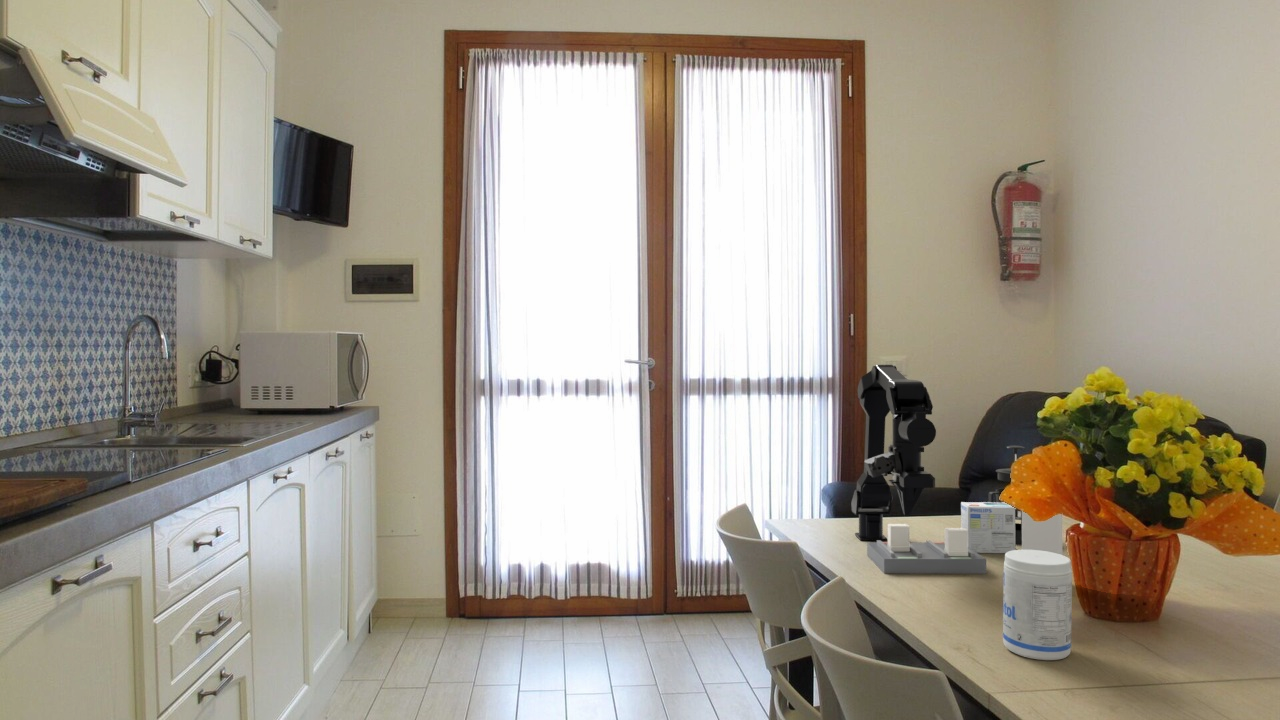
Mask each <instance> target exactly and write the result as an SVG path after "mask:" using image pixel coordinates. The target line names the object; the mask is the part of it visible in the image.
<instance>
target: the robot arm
mask: <svg viewBox="0 0 1280 720" xmlns="http://www.w3.org/2000/svg"><path fill="white" fill-rule="evenodd" d="M857 397H858V399H859V404H860V406H861V408H862V410H863V411H864V413H865V438H864V461H863V463H864V464H863V468H864V469H863V472H862V474H861V475H860V476H859V478H858V479H857V481H856V489H854V492H853V495H852V499H851V502H850V503H851V504H850V505H851V512H852V513H853V514H854V515H855V516H858V532H855V533H854V535H855V536H856V538H858V539H859V540H860V541H877V540H881V541H888V537H887V536H885V535H884V530H883V529H884V523H883V521H884V519H883V518H884V516H883V515H887V516H890V515H891V514H892V513H891V512H892V505H893V504H892V502H893V498H894V496H893V495H892V492H891V487H890V485H889V483H890V484H891V485H892V486H893V487H895V488H896V490H897V494H898V497H899V501H900V506H901V509H902V513H903V515H904V516H905V517H910V516H911V515H912V513H913V510H914V508H915V507H916V504H917V503H918V500H919V498H920V496H921V494H922V492H923V490H924V489H934V488H936V477H935V476H934V475H933V474H932V473H930V472H928V471H926V470H925V466H922V453H925V447H926V446H929V445H930V444H932V443H933V442H934V441H935V439H936V436H937V429H936V427H935V424H934V423H933V422H932V421H931V420H930V419H928V418H927V416H929V415H930V416H932V414H933V407H934V406H933V403H932V399H931V397H930V394H929V392H928V389H927V387H926V386H925V385H924V383H923V381H921V380H918V379H908V378H907V377H905V376H904V375H903V374H902V373H901V372H900V371H899V370H898V369H897V366H896V365H894V364H876V365H873V366H872V368H871V370H870V371H868V372H867V373H865V374H864V375H862V376H861V377H860V379H859V382H858V385H857ZM889 413H891V415H892V444H889V446H888V451H887V452H885V442H886V441H885V440H886V439H885V438H886V436H885V435H886V417H888V415H889ZM888 475H891V476H892V478H891V479H888V482H889V483H888V482H887V480H886V478H885V477H888Z"/></svg>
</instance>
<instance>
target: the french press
mask: <svg viewBox="0 0 1280 720" xmlns="http://www.w3.org/2000/svg"><path fill="white" fill-rule="evenodd" d="M1005 447H1006V448H1007V449H1010V450H1013V454H1014V462H1015V461H1017V455H1019V450H1024V449H1026V447H1025V446H1021V445H1008V446H1005ZM995 472H996V473H997V480H998V481H1002V482H1007V483H1008V482H1009V483H1012V482H1011V478H1010V473H1011V467H1009V468H998V469H996V470H995ZM1005 488H1006V487H1005ZM1005 488H1004V487H1003V488H997V489H995V491H989V492H988V502H994V495H995V496H996V497H995V498H996V500H995V501H996V502H998V503H1001V499H1000V500H999V496H1000V494H1001V492H1002V491H1003V490H1004V489H1005ZM1016 520H1019V521H1020V523H1018V522H1015V545H1021V546H1022V511H1021V510H1019V509H1016V508H1015V521H1016Z"/></svg>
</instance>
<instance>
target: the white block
mask: <svg viewBox="0 0 1280 720" xmlns="http://www.w3.org/2000/svg"><path fill="white" fill-rule="evenodd" d="M887 542H888V544H887V547H888V548H889V549H891V550H892V551H893V552H910V547H909V542H910V525H908V524H907V523H887Z"/></svg>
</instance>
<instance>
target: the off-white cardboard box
mask: <svg viewBox="0 0 1280 720" xmlns="http://www.w3.org/2000/svg"><path fill="white" fill-rule="evenodd" d="M1021 550H1040V551H1048V552H1053V553H1057V554H1061V555H1063V514H1062V515H1060V514H1059V515H1055V516H1053V517H1052V518H1050V519H1048V520H1047V521H1043V522H1036V521H1033V520H1032V518H1031V517H1030V516H1029V515H1028V514H1027V513H1025V512H1023V511H1022V545H1021Z"/></svg>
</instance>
